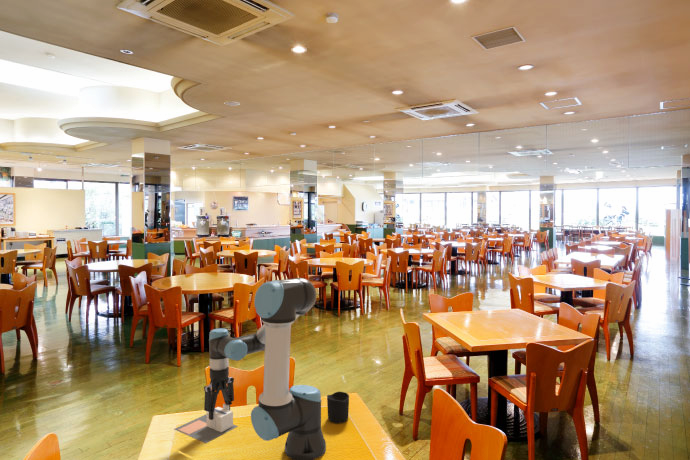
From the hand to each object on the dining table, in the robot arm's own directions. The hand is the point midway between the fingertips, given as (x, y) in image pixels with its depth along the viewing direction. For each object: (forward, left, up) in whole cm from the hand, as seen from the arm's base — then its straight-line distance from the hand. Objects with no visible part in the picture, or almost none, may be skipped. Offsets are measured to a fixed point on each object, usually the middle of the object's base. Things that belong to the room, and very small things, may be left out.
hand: (219, 423), depth 172 cm
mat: (+4, +3, -2) cm, 6 cm away
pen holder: (-36, -34, -2) cm, 49 cm away
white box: (0, 0, -1) cm, 1 cm away
